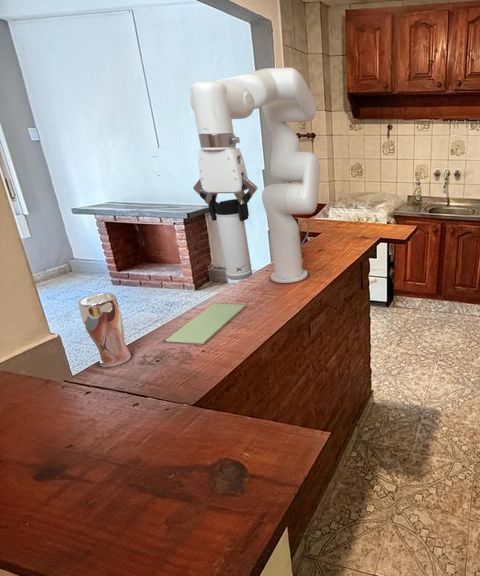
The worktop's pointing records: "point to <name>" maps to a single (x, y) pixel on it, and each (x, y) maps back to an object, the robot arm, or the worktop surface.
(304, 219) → the glass holder
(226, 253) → the travel mug
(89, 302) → the beer glass
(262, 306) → the worktop surface
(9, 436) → the worktop surface
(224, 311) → the sage mat
